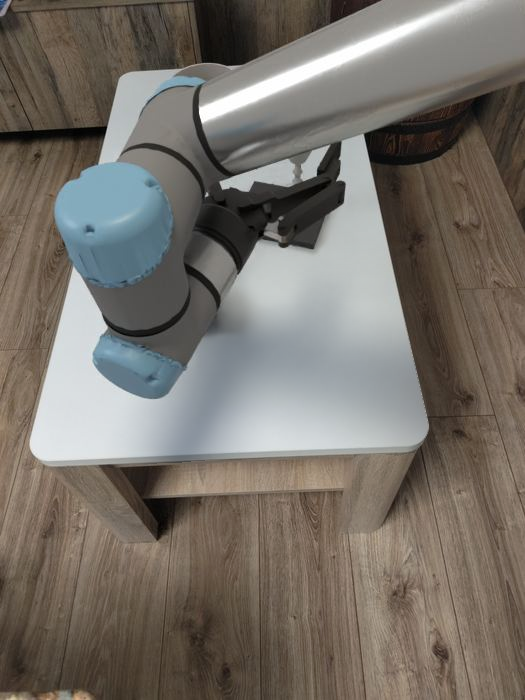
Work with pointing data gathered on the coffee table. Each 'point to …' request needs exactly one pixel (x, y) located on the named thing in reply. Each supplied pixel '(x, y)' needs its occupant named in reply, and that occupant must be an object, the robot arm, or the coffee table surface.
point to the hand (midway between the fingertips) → (284, 133)
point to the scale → (303, 238)
